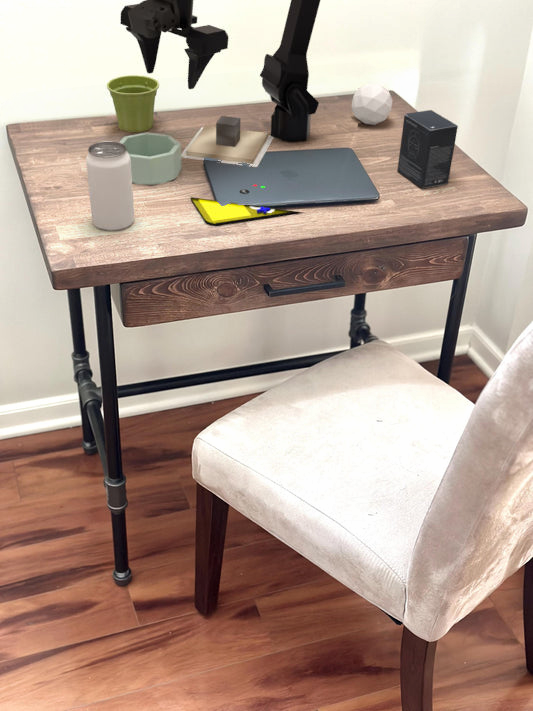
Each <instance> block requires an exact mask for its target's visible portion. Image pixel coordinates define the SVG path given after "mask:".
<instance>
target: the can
mask: <svg viewBox="0 0 533 711" xmlns="http://www.w3.org/2000/svg"><path fill="white" fill-rule="evenodd" d="M119 142H120V141H119ZM119 142H118V141H114V140H107V141H106V140H105V141H99V142H95V143H92V144H90V146H89V147H88V148H87V152H88V153H87V156H86V158H85V159H86V160H85V163H86V173H87V175H86V176H87V184H88V193H89V195H88V196H89V202H90V203H89V205H90V214H91V222H92V223H93V224H92V225H94V226H95V227H96V228H97V229H99V230H103V231H105V232H107V231H108V232H116V231H122V230H123V231H124V230H125V229H127V228H130V226H132V225H133V223H134V221H135V208H134V192H133V191H134V190H133V183H132V174H131V161H130V156H129V154H128V152H127V147H126V146H125V145H124V144H122V143H119Z"/></svg>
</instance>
